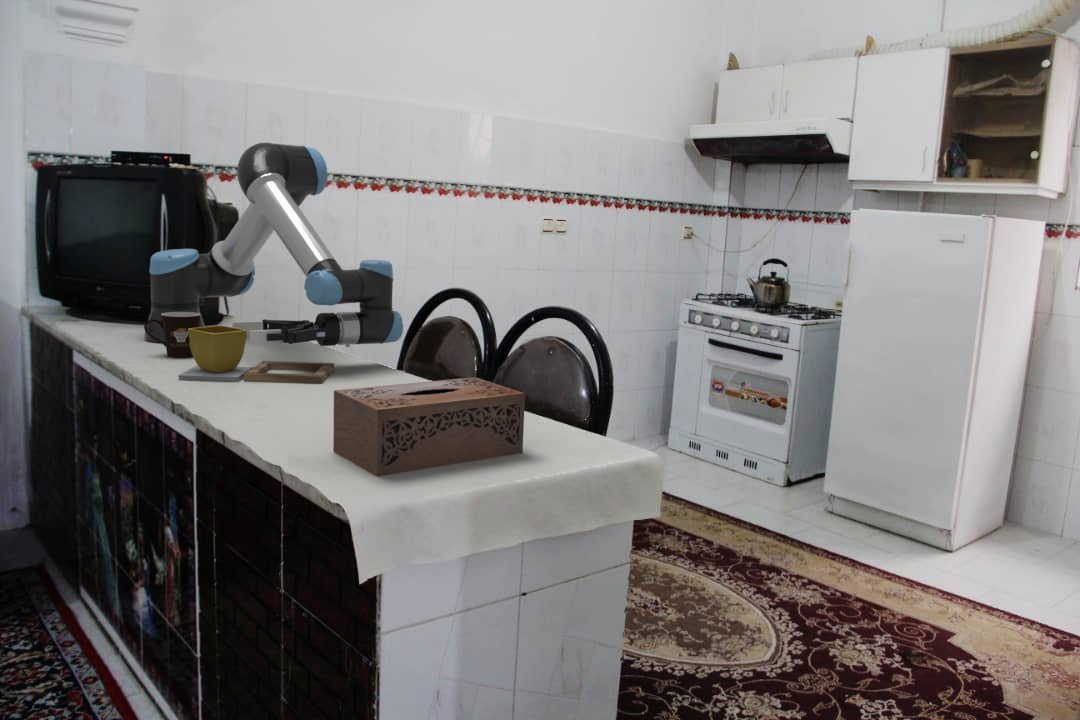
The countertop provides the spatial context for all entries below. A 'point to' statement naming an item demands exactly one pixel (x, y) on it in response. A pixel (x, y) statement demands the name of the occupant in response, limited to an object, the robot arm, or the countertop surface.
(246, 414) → the countertop surface
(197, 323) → the coffee mug
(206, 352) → the flower pot
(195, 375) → the mat
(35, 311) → the countertop surface
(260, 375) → the board
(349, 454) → the tissue box cover
